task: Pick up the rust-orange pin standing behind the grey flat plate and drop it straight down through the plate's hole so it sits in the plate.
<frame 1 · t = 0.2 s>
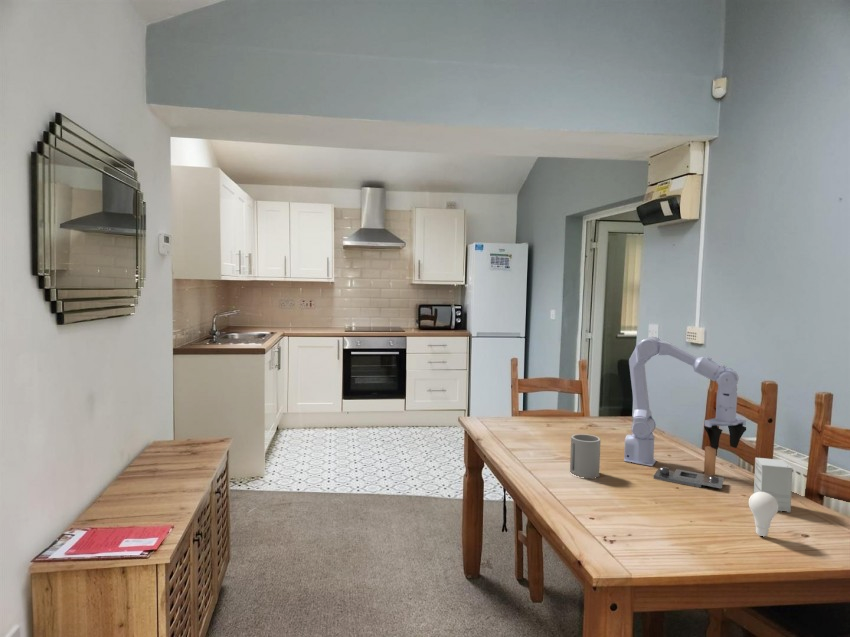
hand: (724, 447, 170), 10 cm above the table, tool pointing down, fingers open, 7 cm apart
supplement box: (771, 506, 147), on the table
grey flat plate: (688, 481, 166), on the table
pin: (709, 474, 172), on the table
lightbulb: (761, 537, 128), on the table
cup: (584, 474, 171), on the table
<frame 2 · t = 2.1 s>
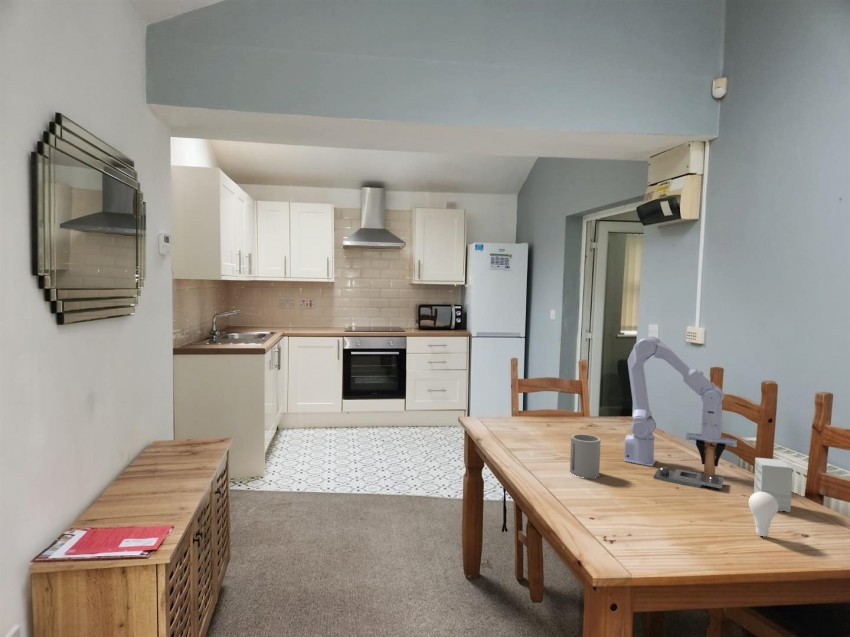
hand: (709, 464, 172), 3 cm above the table, tool pointing down, fingers closed on pin, 3 cm apart
pin: (709, 474, 172), on the table, touching gripper
everything else where it was.
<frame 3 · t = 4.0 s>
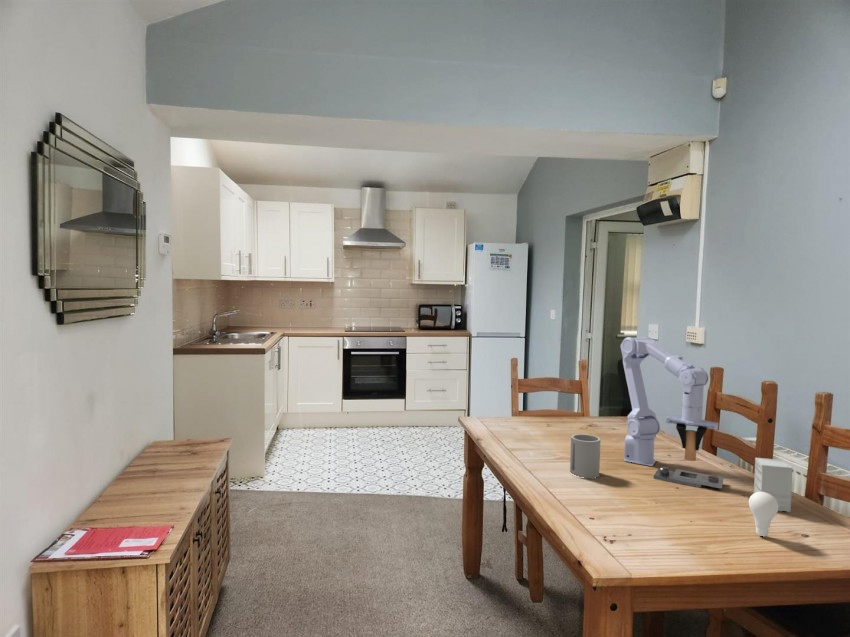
hand: (690, 448, 166), 10 cm above the table, tool pointing down, fingers closed on pin, 3 cm apart
pin: (690, 459, 166), point 7 cm above the table, touching gripper
everything else where it was.
when the fingers open (4 cm above the table, at t = 6.2 s): pin stays where it is, resting in grey flat plate.
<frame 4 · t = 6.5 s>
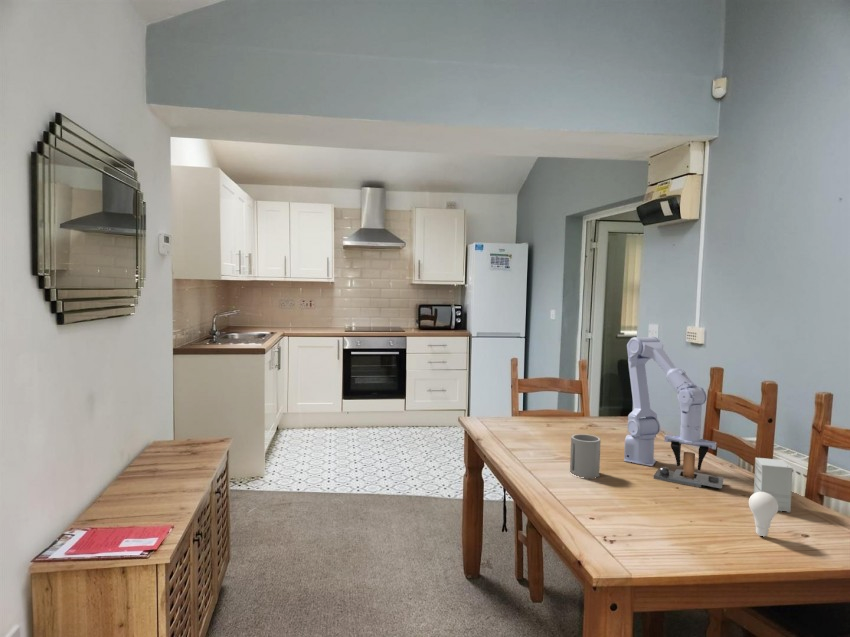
hand: (688, 467, 166), 4 cm above the table, tool pointing down, fingers open, 5 cm apart
pin: (688, 481, 166), resting in grey flat plate
everything else where it was.
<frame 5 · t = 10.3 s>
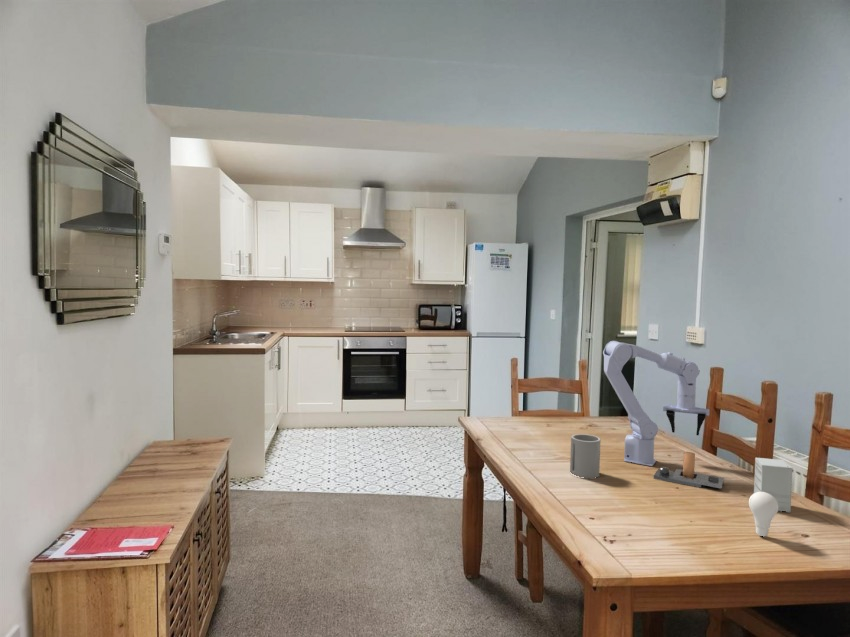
hand: (685, 433, 184), 10 cm above the table, tool pointing down, fingers open, 7 cm apart
nothing on the table moved.
at the end: pin 0.1 cm off-centre on the grey flat plate, point 0.0 cm above the grey flat plate's base; pin tilted 0°; the gripper is holding nothing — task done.
